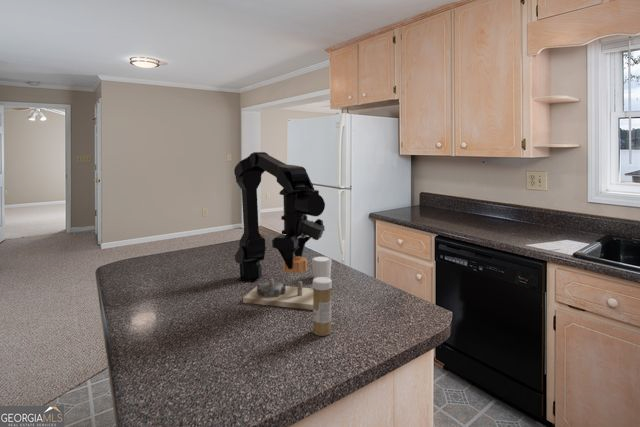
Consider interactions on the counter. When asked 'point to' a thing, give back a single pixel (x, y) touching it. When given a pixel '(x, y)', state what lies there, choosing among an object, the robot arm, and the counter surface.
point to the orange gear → (296, 265)
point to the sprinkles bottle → (322, 306)
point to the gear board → (281, 295)
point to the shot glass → (321, 266)
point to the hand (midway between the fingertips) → (294, 265)
